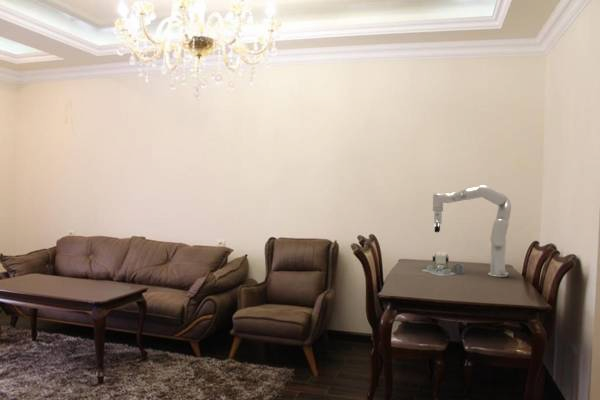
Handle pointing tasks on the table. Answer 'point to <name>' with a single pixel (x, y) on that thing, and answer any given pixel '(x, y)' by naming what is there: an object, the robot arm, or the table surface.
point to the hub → (458, 268)
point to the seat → (438, 271)
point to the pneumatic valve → (440, 260)
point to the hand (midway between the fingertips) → (437, 231)
